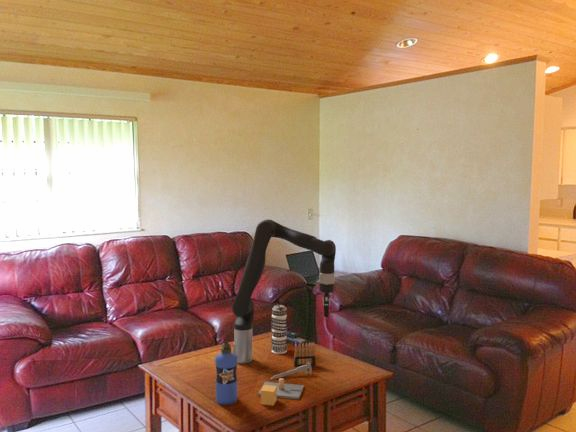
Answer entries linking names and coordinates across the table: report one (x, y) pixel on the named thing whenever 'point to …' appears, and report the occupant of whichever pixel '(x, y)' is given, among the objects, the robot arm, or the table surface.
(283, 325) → the decorative candle
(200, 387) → the table surface
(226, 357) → the water bottle
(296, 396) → the post board
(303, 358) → the ammunition clip
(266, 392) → the mustard yellow cube
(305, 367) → the caliper
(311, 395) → the table surface
